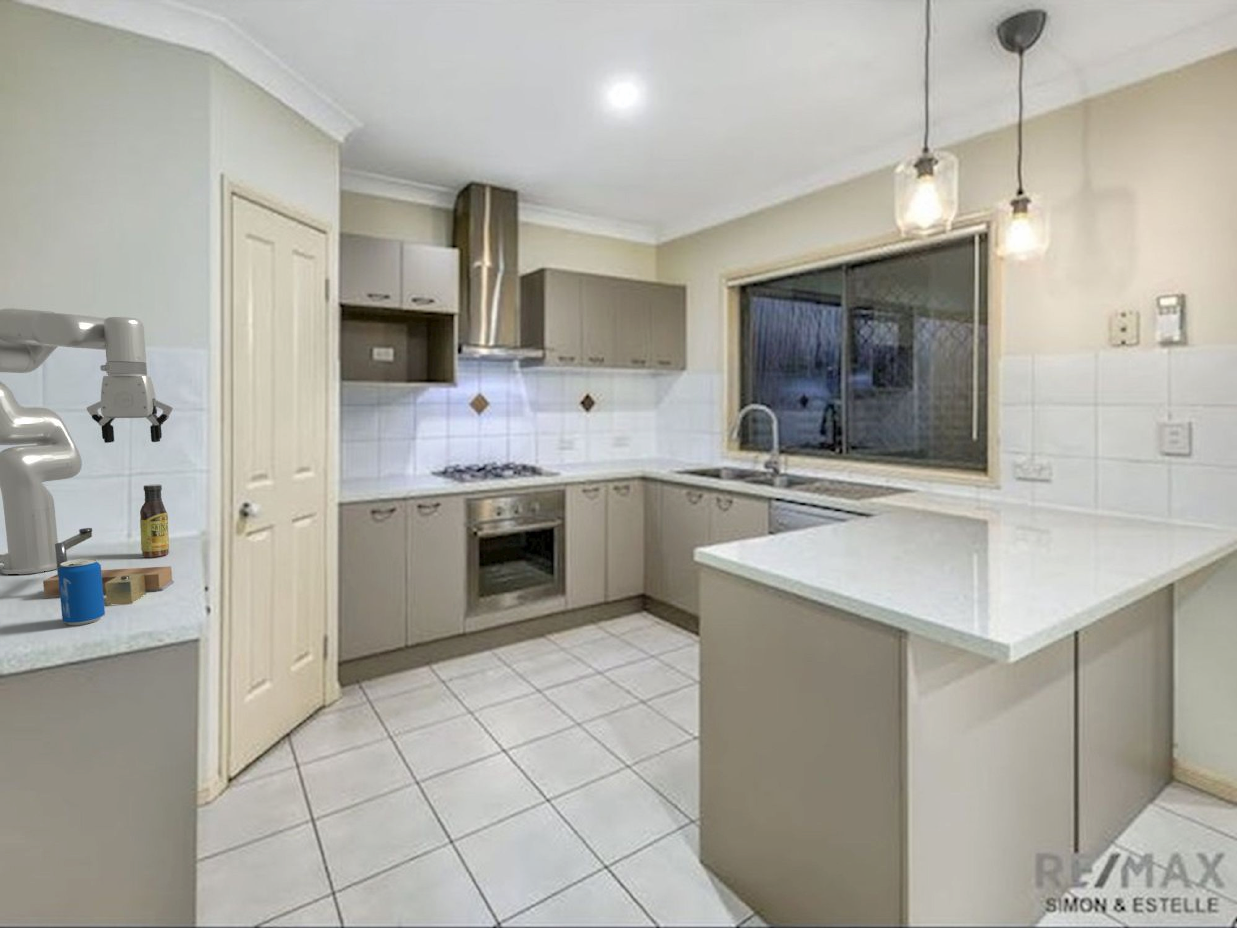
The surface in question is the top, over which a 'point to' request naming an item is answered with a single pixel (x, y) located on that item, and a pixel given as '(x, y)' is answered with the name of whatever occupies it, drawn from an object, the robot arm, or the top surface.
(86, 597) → the beverage can
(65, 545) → the lever
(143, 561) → the top surface
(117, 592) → the tan knob block
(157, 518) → the sauce bottle
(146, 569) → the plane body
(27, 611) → the top surface
